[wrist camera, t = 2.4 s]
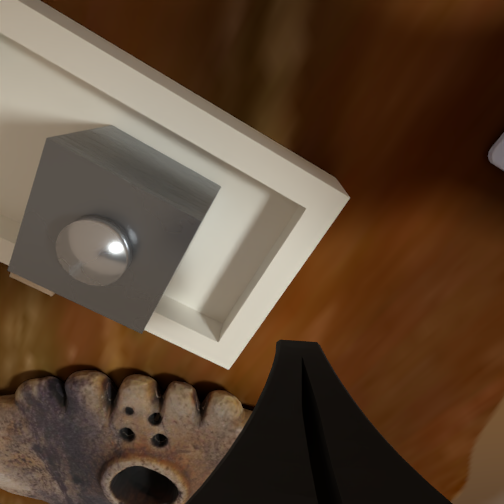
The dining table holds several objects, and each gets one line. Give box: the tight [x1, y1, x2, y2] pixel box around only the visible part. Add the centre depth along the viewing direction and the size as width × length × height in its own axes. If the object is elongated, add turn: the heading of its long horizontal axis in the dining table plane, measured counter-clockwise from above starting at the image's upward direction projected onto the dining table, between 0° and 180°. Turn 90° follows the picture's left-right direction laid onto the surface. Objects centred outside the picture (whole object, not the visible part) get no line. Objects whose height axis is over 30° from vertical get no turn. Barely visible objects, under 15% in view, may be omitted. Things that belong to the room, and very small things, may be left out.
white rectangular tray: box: [0, 0, 350, 370], centre depth 16 cm, size 22×13×4 cm, turn 61°
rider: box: [7, 125, 221, 334], centre depth 13 cm, size 5×5×5 cm
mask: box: [0, 370, 253, 504], centre depth 24 cm, size 15×3×25 cm
